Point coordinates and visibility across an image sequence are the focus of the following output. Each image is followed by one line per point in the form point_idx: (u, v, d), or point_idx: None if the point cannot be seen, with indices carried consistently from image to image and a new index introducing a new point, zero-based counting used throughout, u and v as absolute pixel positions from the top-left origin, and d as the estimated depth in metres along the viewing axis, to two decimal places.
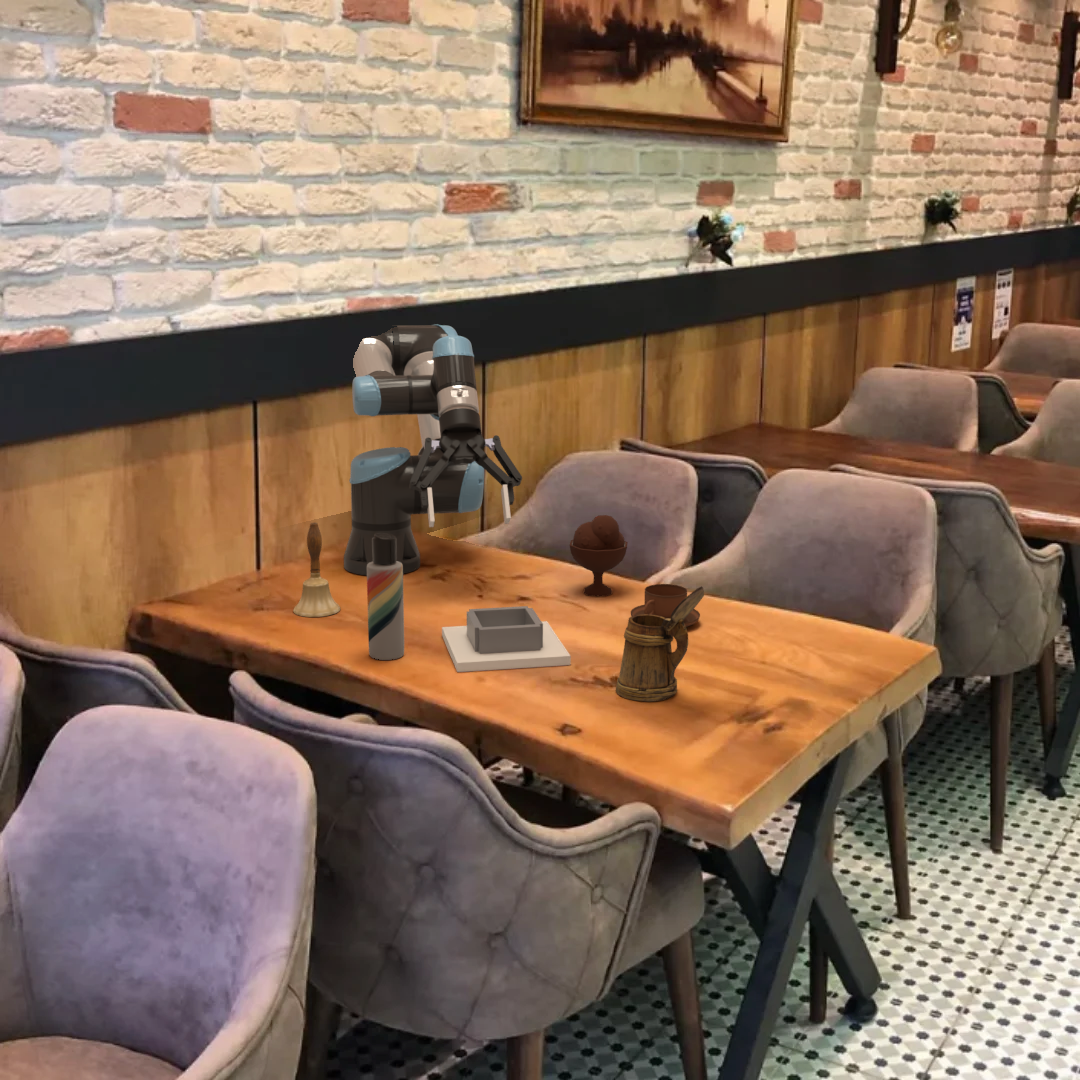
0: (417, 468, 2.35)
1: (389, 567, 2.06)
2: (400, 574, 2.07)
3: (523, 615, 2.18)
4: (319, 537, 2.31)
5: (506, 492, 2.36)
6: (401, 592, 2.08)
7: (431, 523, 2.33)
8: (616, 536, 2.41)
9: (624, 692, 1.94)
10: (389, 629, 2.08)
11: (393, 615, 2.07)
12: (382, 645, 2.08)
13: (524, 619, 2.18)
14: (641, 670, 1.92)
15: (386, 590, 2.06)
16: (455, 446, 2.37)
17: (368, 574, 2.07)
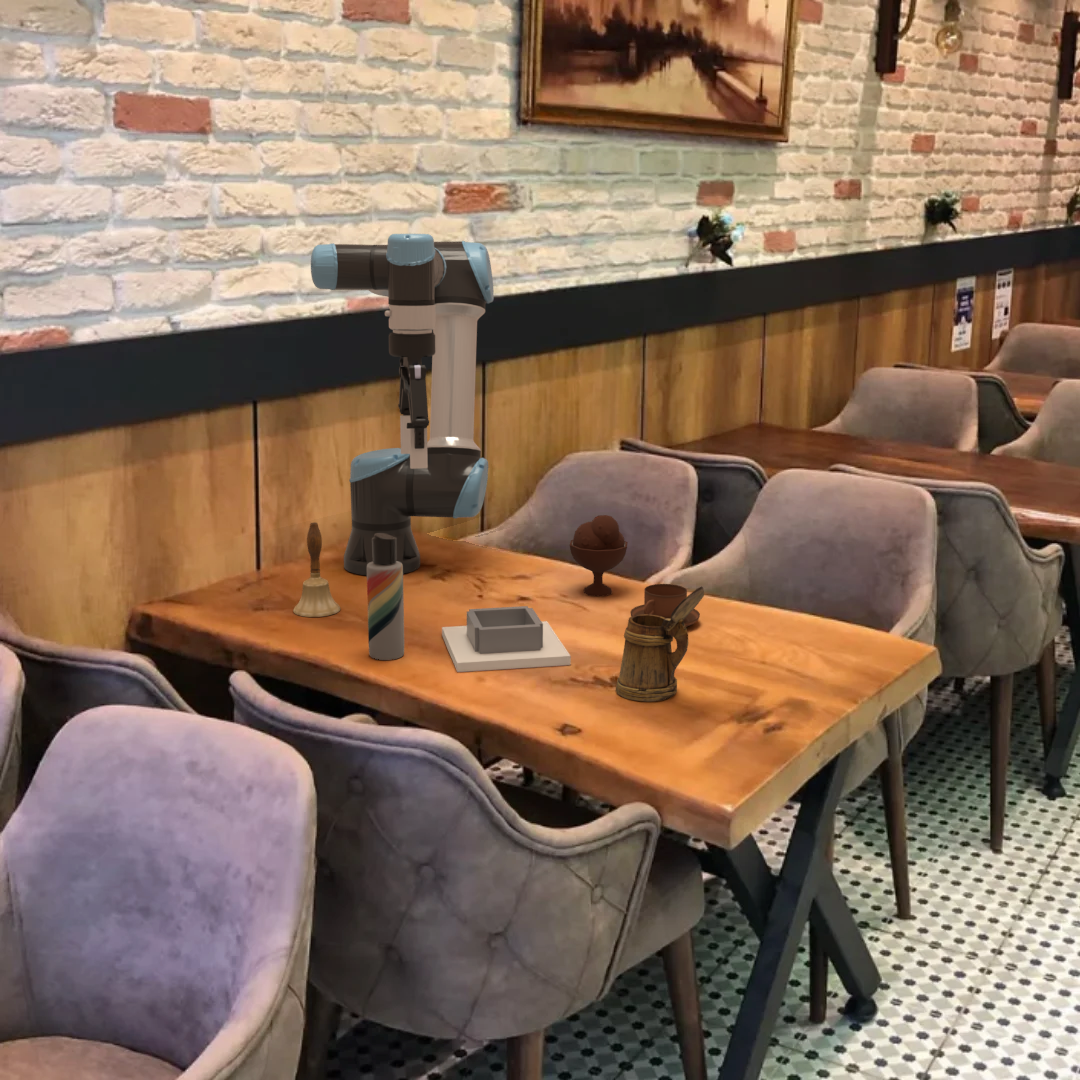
0: None
1: (389, 567, 2.06)
2: (400, 574, 2.07)
3: (523, 615, 2.18)
4: (319, 537, 2.31)
5: (410, 437, 2.10)
6: (401, 592, 2.08)
7: (407, 453, 2.25)
8: (616, 536, 2.41)
9: (624, 692, 1.94)
10: (389, 629, 2.08)
11: (393, 615, 2.07)
12: (382, 645, 2.08)
13: (524, 619, 2.18)
14: (641, 670, 1.92)
15: (386, 590, 2.06)
16: None
17: (368, 574, 2.07)
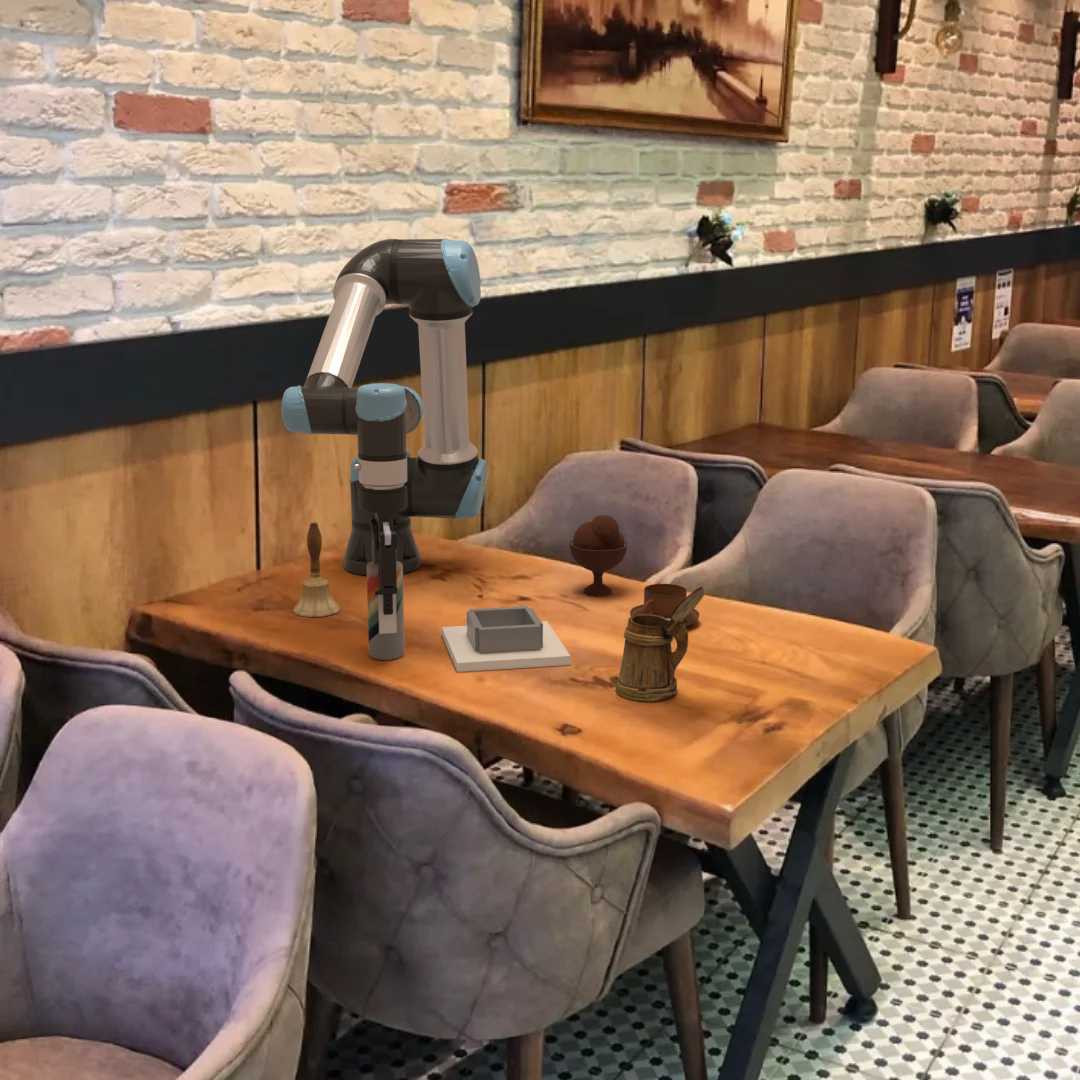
0: None
1: None
2: (400, 574, 2.07)
3: (523, 615, 2.18)
4: (319, 537, 2.31)
5: (378, 603, 2.06)
6: (401, 592, 2.08)
7: None
8: (616, 536, 2.41)
9: (624, 692, 1.94)
10: None
11: None
12: (382, 645, 2.08)
13: (524, 619, 2.18)
14: (641, 670, 1.92)
15: None
16: (370, 527, 2.07)
17: (368, 574, 2.07)
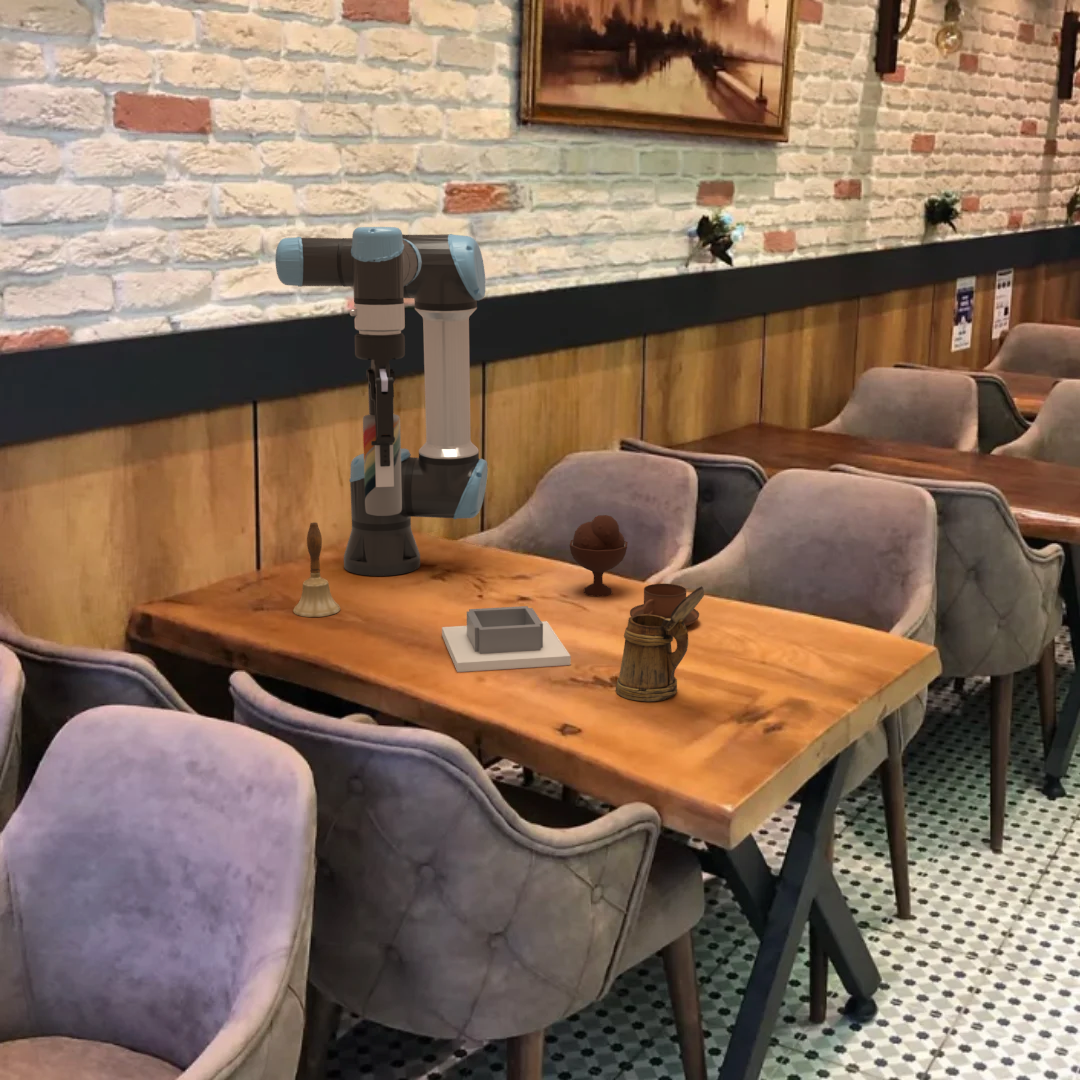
0: None
1: None
2: (397, 426, 2.01)
3: (523, 615, 2.18)
4: (319, 537, 2.30)
5: (375, 455, 2.00)
6: (398, 445, 2.02)
7: None
8: (616, 536, 2.41)
9: (624, 692, 1.94)
10: None
11: None
12: (379, 500, 2.03)
13: (524, 619, 2.18)
14: (641, 670, 1.92)
15: None
16: (367, 378, 2.01)
17: (364, 426, 2.01)
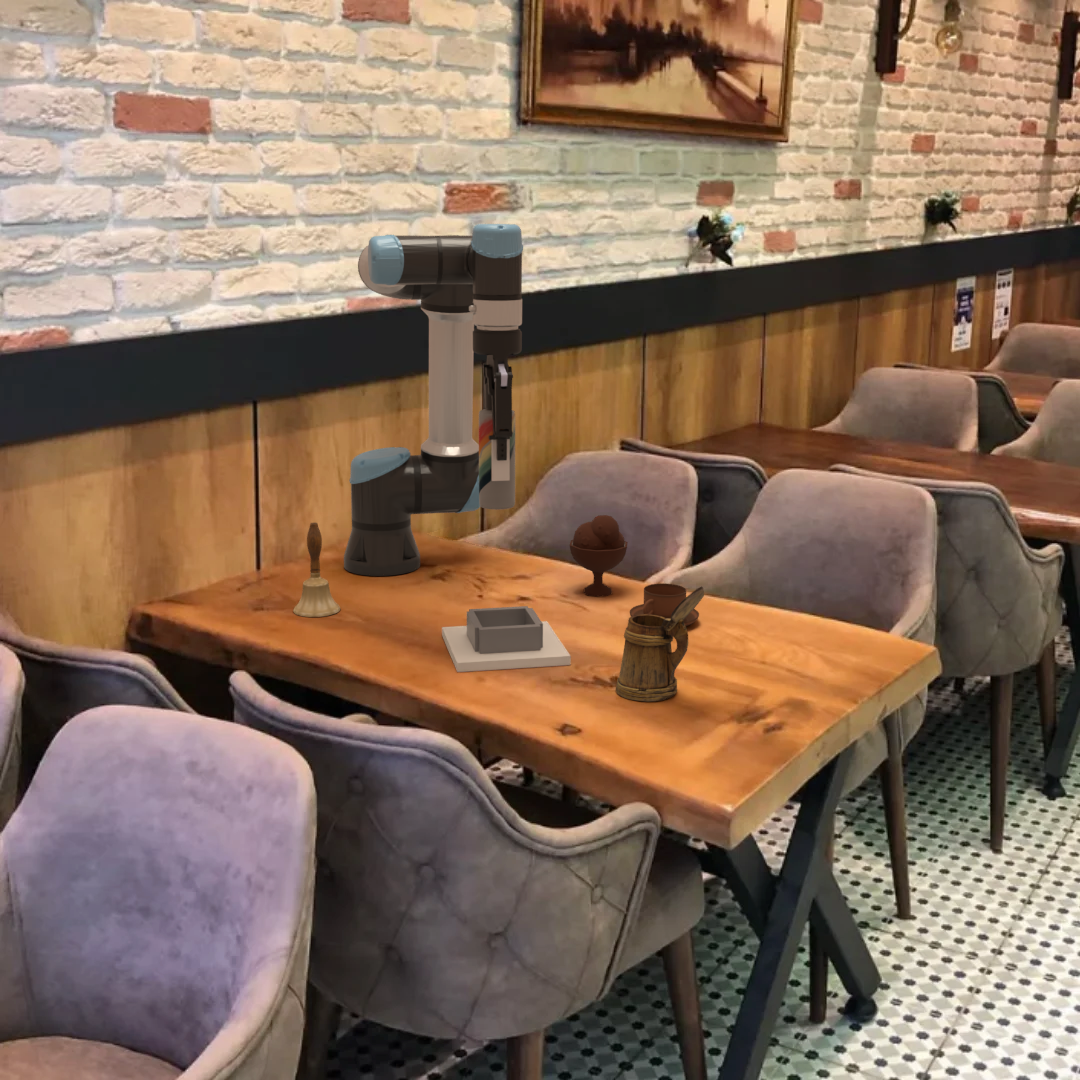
0: (483, 404, 2.10)
1: None
2: (513, 421, 2.04)
3: (523, 615, 2.18)
4: (319, 537, 2.30)
5: (492, 449, 2.02)
6: (513, 440, 2.05)
7: None
8: (616, 536, 2.41)
9: (624, 692, 1.94)
10: None
11: None
12: (494, 494, 2.05)
13: (524, 619, 2.18)
14: (641, 670, 1.92)
15: None
16: (483, 373, 2.04)
17: (481, 420, 2.03)
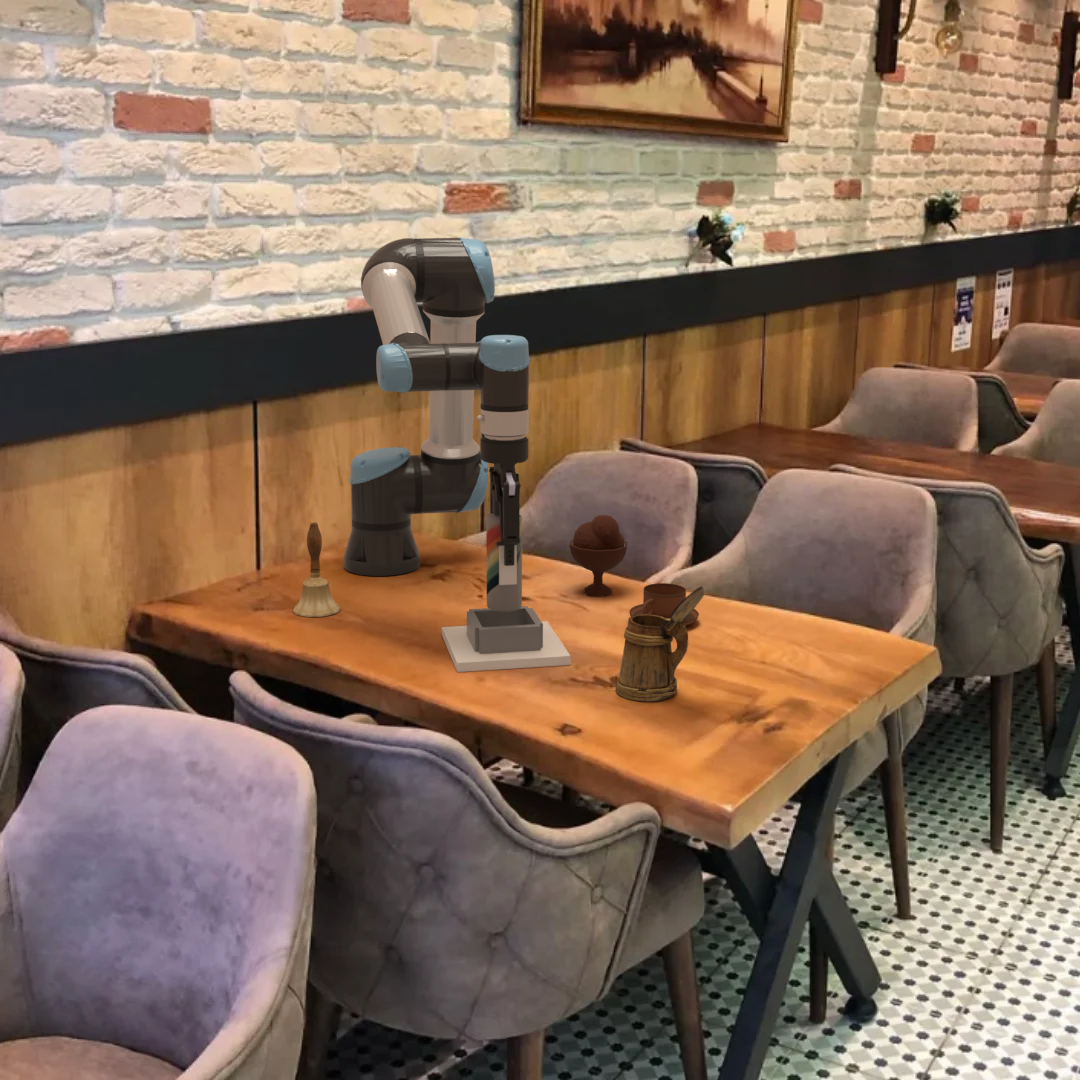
0: (490, 506, 2.14)
1: None
2: (520, 526, 2.08)
3: (523, 615, 2.18)
4: (319, 537, 2.30)
5: (499, 554, 2.07)
6: (520, 544, 2.09)
7: None
8: (616, 536, 2.41)
9: (624, 692, 1.94)
10: None
11: None
12: (501, 597, 2.09)
13: (524, 619, 2.18)
14: (641, 670, 1.92)
15: None
16: (491, 479, 2.08)
17: (488, 525, 2.08)
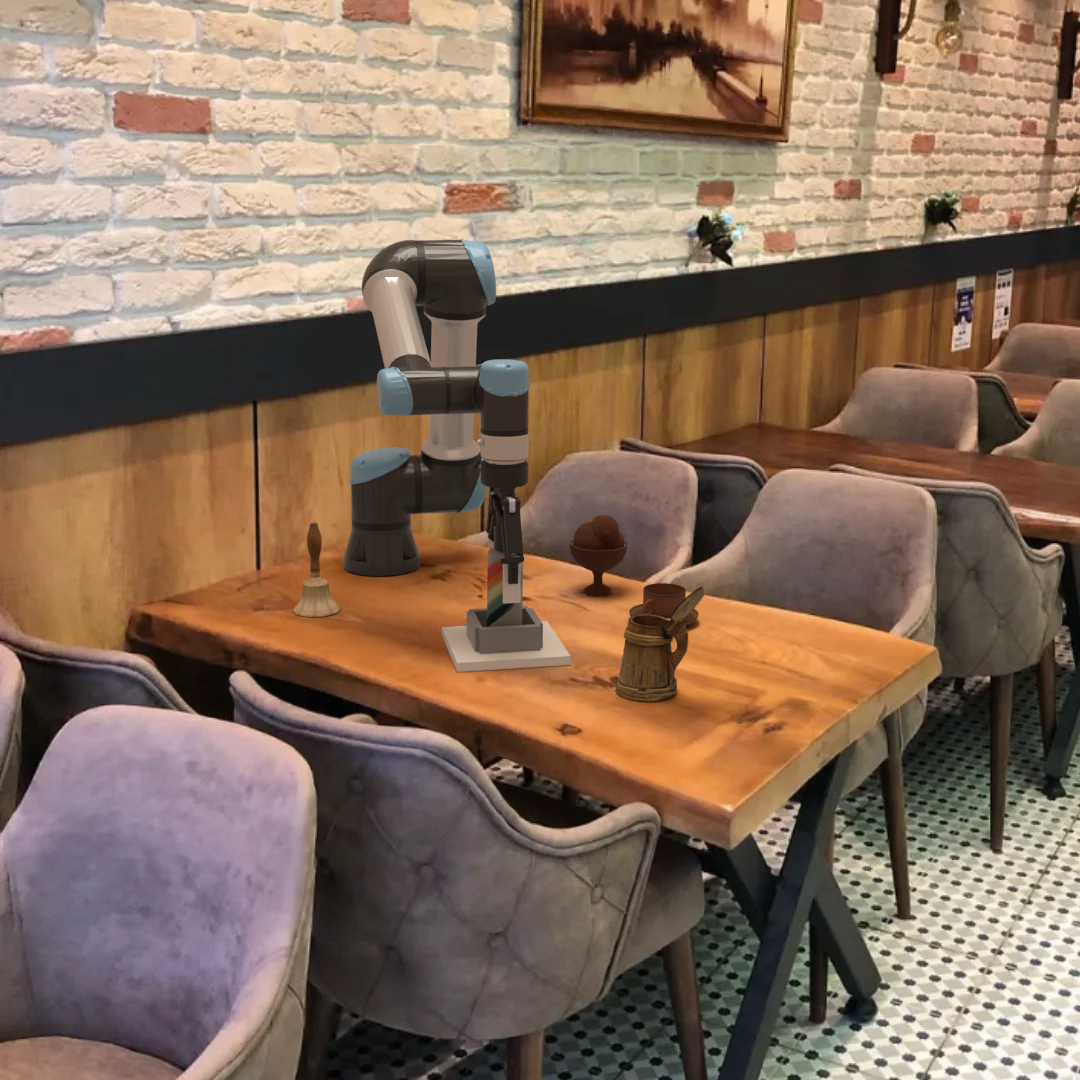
0: (488, 516, 2.17)
1: (511, 554, 2.08)
2: (521, 562, 2.09)
3: (523, 615, 2.18)
4: (319, 537, 2.30)
5: (503, 572, 2.04)
6: (521, 579, 2.10)
7: None
8: (616, 536, 2.41)
9: (624, 692, 1.94)
10: (509, 615, 2.10)
11: None
12: None
13: (524, 619, 2.18)
14: (641, 670, 1.92)
15: None
16: (490, 502, 2.09)
17: (489, 561, 2.09)
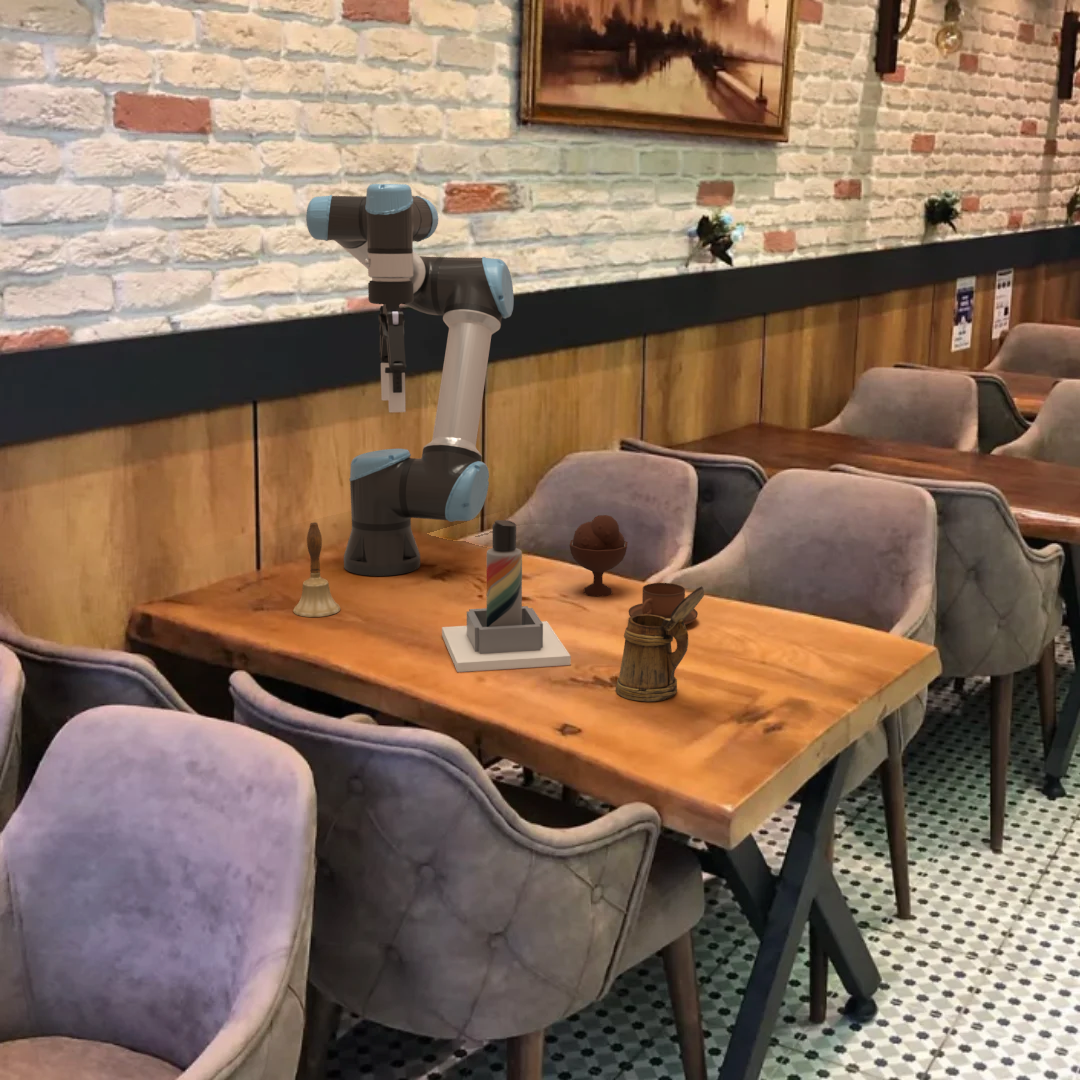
0: (380, 339, 2.30)
1: (510, 554, 2.08)
2: (520, 561, 2.10)
3: (523, 615, 2.18)
4: (319, 537, 2.31)
5: (388, 382, 2.17)
6: (520, 578, 2.11)
7: None
8: (616, 536, 2.41)
9: (624, 692, 1.94)
10: (508, 615, 2.10)
11: (513, 601, 2.10)
12: None
13: (524, 619, 2.18)
14: (641, 670, 1.92)
15: (507, 576, 2.09)
16: (379, 321, 2.23)
17: (488, 560, 2.09)
